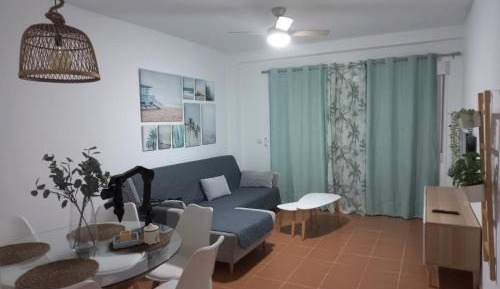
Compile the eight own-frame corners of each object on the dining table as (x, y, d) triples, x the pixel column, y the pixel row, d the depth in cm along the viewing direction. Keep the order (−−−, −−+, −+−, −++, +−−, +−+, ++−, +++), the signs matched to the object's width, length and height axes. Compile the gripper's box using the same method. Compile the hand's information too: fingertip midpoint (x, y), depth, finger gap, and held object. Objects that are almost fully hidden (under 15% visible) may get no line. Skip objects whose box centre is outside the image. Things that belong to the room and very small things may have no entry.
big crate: (114, 241, 206) (113, 235, 206) (138, 237, 211) (137, 231, 211) (113, 250, 193) (113, 244, 193) (139, 245, 198) (138, 239, 198)
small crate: (120, 241, 204) (120, 231, 203) (131, 239, 206) (130, 230, 205) (120, 244, 198) (120, 235, 198) (131, 243, 200) (130, 233, 200)
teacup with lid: (158, 244, 198) (157, 225, 197) (143, 246, 197) (141, 227, 196) (161, 237, 210) (160, 219, 209) (146, 238, 209) (145, 220, 208)
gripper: (104, 194, 213) (106, 217, 214) (103, 201, 195) (105, 227, 197) (123, 191, 217) (125, 215, 218) (123, 198, 199) (125, 224, 201)
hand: (120, 220), depth 209 cm, fingers open, 9 cm apart
